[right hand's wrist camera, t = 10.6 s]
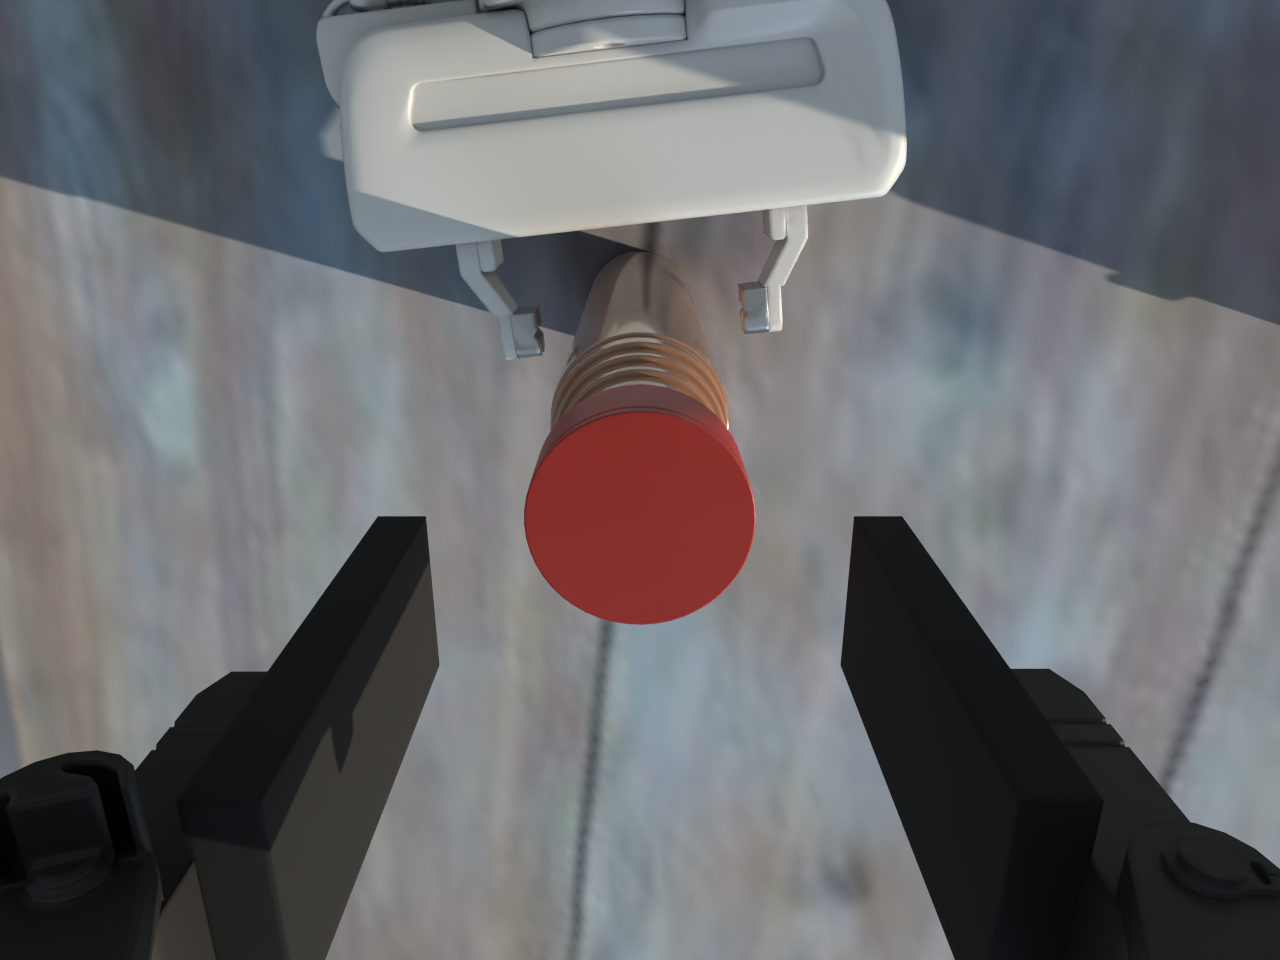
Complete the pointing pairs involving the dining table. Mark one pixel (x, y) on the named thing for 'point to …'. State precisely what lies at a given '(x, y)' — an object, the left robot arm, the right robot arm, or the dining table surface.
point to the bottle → (639, 337)
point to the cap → (639, 506)
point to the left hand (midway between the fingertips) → (642, 342)
